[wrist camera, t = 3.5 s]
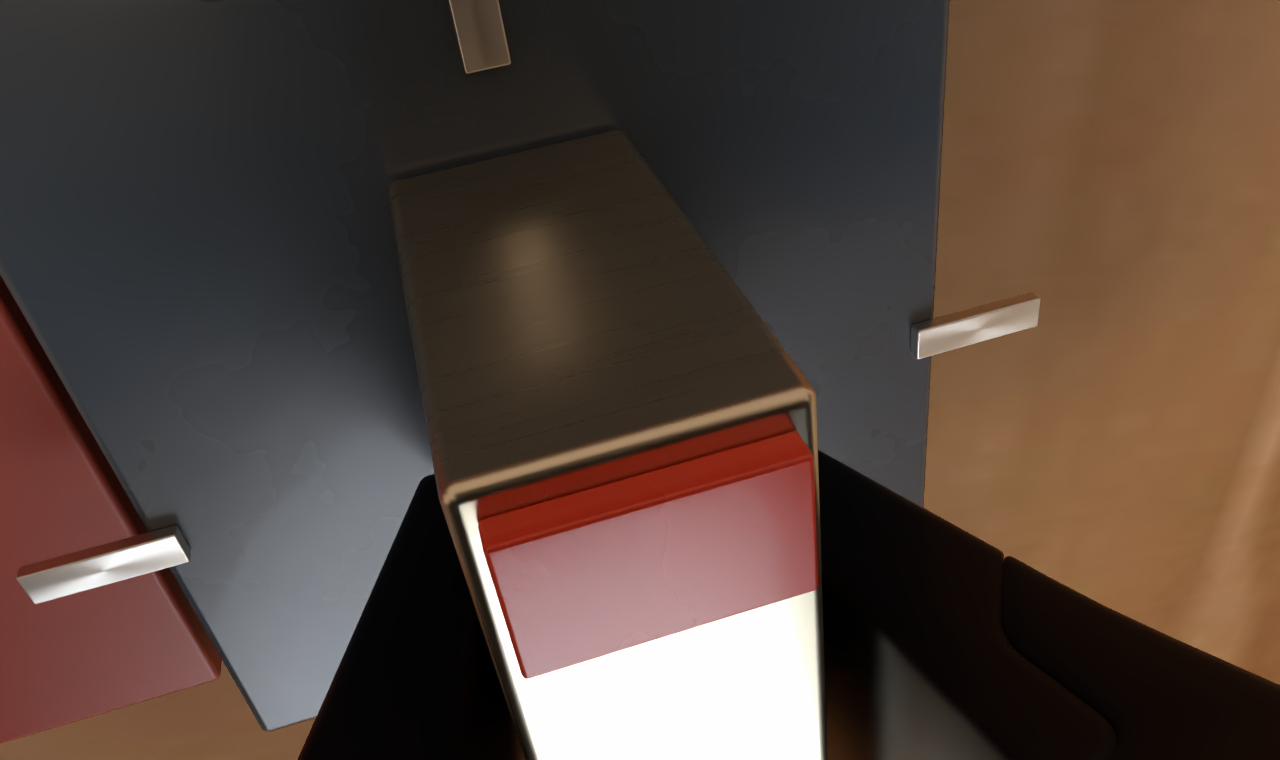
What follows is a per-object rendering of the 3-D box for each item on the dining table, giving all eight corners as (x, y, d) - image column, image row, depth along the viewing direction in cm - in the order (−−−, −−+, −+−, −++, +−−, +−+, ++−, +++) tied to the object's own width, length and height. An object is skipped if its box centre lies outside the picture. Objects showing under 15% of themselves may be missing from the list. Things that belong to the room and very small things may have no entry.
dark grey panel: (891, 484, 16) (1000, 631, 14) (243, 677, 15) (229, 881, 12) (924, -858, 8) (1217, -1121, 5) (-556, -730, 6) (-1116, -1008, 4)
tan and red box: (693, 610, 12) (848, 974, 8) (528, 659, 12) (621, 1059, 8) (623, 123, 8) (842, 414, 5) (383, 178, 8) (442, 529, 5)
